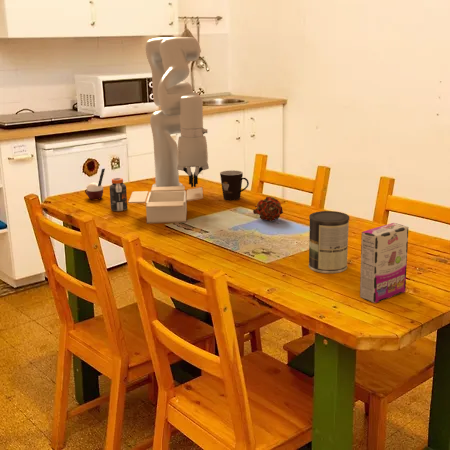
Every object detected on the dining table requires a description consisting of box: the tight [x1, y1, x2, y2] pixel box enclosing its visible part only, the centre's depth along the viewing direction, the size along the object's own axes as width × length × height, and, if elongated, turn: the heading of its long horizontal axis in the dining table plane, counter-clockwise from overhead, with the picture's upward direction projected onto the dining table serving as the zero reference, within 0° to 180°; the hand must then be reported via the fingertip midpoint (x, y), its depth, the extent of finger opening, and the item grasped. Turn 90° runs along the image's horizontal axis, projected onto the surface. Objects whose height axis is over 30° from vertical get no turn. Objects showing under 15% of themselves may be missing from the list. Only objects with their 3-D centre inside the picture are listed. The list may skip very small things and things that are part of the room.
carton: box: [127, 185, 188, 224], centre depth 219 cm, size 28×19×7 cm
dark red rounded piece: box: [252, 196, 284, 222], centre depth 214 cm, size 8×8×12 cm
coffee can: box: [308, 210, 350, 274], centre depth 168 cm, size 10×10×14 cm
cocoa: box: [84, 168, 106, 200], centre depth 245 cm, size 10×6×12 cm, turn 43°
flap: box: [186, 186, 204, 202], centre depth 219 cm, size 15×1×6 cm
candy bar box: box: [359, 222, 409, 304], centre depth 149 cm, size 11×5×16 cm, turn 126°
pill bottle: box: [109, 177, 128, 212], centre depth 229 cm, size 6×6×11 cm
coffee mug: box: [219, 169, 250, 202], centre depth 241 cm, size 12×9×10 cm
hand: (193, 186), depth 218 cm, fingers closed
